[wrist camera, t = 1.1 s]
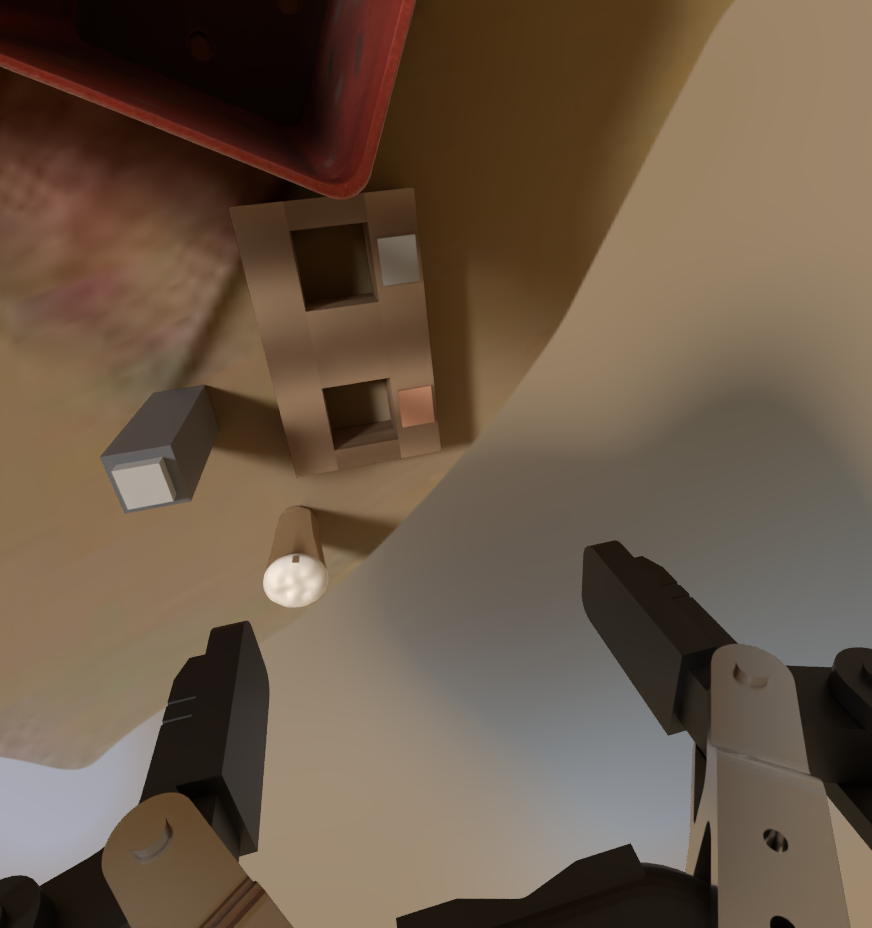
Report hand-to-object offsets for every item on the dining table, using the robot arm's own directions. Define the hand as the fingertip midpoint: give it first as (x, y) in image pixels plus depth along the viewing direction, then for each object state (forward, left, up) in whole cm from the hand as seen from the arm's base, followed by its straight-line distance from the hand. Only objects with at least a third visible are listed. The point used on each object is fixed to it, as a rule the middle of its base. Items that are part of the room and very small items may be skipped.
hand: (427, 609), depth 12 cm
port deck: (0, 0, -30) cm, 30 cm away
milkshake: (+15, -7, -30) cm, 34 cm away
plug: (+4, -13, -30) cm, 33 cm away
